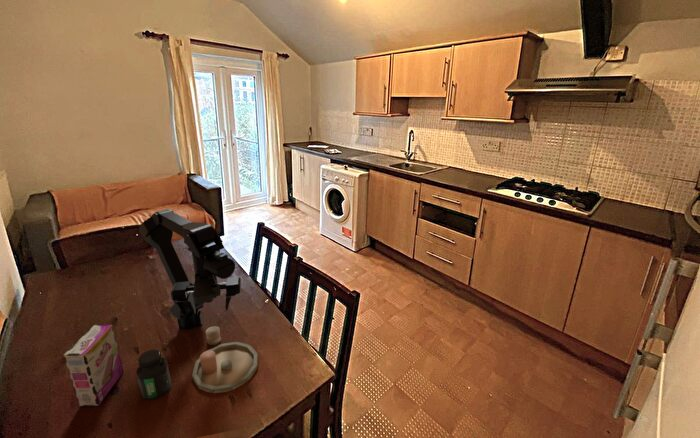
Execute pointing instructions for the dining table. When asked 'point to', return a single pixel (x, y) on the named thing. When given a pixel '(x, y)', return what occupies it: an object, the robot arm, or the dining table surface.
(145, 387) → the supplement bottle
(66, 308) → the dining table surface
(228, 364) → the ring dish
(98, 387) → the candy bar box
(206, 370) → the terracotta bead
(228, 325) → the dining table surface
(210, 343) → the maple bead
